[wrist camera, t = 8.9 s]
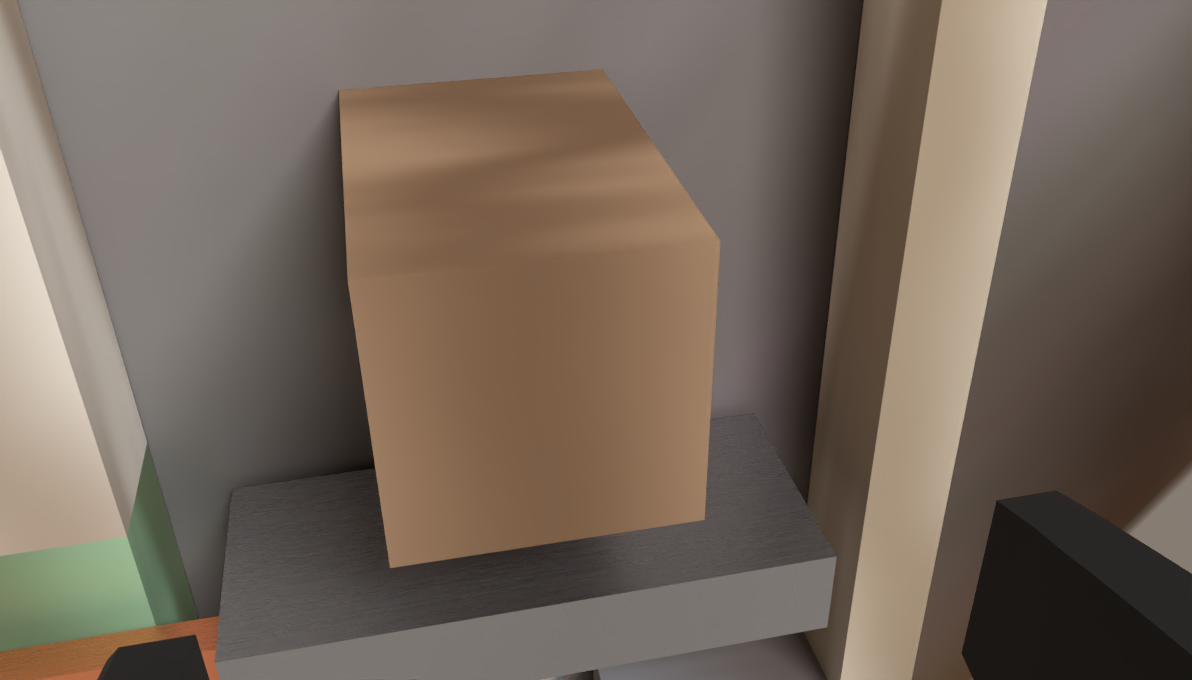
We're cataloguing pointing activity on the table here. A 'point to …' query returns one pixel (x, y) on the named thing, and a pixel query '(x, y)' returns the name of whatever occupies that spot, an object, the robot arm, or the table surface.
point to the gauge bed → (847, 394)
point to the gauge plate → (491, 587)
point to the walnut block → (525, 314)
